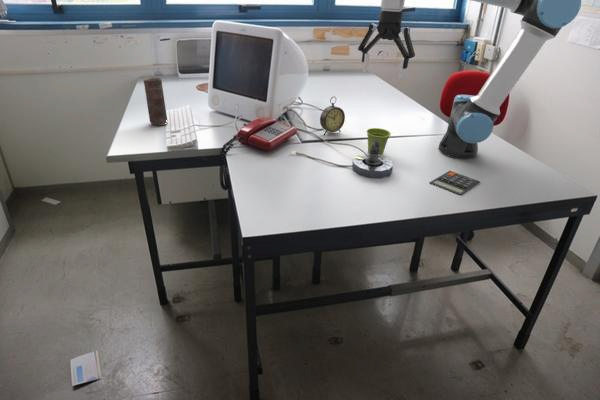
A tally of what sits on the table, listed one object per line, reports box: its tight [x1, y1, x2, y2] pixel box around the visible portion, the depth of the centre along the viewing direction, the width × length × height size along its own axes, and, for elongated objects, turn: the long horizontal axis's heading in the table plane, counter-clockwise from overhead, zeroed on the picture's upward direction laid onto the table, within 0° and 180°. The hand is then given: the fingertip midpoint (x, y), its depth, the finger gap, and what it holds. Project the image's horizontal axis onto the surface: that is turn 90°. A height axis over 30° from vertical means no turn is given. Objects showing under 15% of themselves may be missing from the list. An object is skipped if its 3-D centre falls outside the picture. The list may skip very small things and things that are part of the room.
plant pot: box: [366, 127, 391, 156], centre depth 161 cm, size 9×9×9 cm
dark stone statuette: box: [365, 139, 382, 167], centre depth 146 cm, size 6×6×12 cm
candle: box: [143, 76, 168, 126], centre depth 176 cm, size 8×7×20 cm
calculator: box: [429, 170, 481, 196], centre depth 143 cm, size 12×1×15 cm
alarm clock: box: [319, 96, 346, 136], centre depth 177 cm, size 11×5×16 cm, turn 123°
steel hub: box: [351, 154, 394, 180], centre depth 148 cm, size 14×14×3 cm
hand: (382, 74), depth 147 cm, fingers open, 13 cm apart
